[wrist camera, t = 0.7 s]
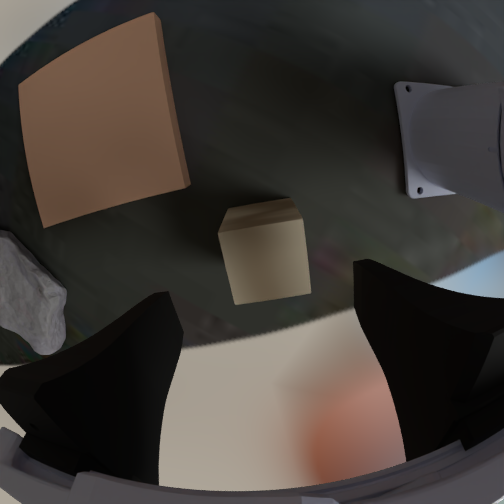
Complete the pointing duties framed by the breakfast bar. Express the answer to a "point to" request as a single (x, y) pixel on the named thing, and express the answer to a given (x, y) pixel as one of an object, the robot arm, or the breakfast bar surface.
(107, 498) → the robot arm
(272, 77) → the breakfast bar surface
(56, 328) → the stone block
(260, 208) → the birch block
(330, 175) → the breakfast bar surface
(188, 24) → the breakfast bar surface
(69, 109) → the terracotta tile
